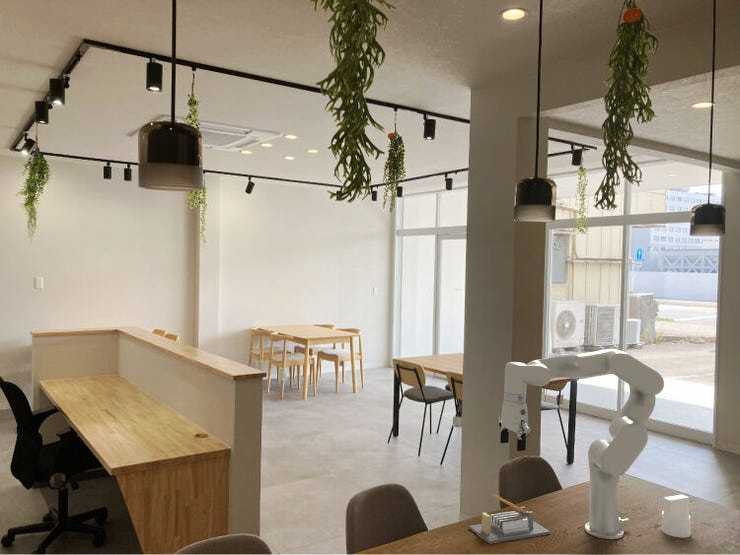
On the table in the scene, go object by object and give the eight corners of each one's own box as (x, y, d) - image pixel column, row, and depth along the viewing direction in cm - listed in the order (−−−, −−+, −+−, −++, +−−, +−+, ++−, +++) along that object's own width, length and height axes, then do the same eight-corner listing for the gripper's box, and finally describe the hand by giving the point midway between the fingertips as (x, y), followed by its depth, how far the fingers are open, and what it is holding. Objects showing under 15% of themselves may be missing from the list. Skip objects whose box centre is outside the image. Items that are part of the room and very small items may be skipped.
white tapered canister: (674, 525, 212) (675, 491, 212) (696, 535, 204) (697, 500, 204) (655, 528, 209) (655, 494, 209) (677, 539, 201) (677, 503, 201)
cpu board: (527, 519, 216) (527, 500, 216) (550, 534, 203) (550, 513, 203) (469, 528, 207) (469, 508, 207) (489, 544, 195) (489, 523, 195)
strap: (524, 513, 209) (526, 510, 210) (529, 516, 207) (531, 513, 207) (491, 495, 205) (492, 492, 205) (496, 499, 202) (497, 495, 202)
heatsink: (514, 521, 211) (514, 510, 211) (529, 531, 203) (529, 520, 203) (489, 525, 208) (489, 513, 208) (504, 535, 199) (504, 523, 200)
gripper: (539, 402, 201) (537, 453, 201) (509, 392, 217) (507, 439, 217) (521, 403, 198) (518, 454, 198) (491, 393, 214) (489, 440, 214)
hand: (512, 446), depth 208 cm, fingers open, 9 cm apart
